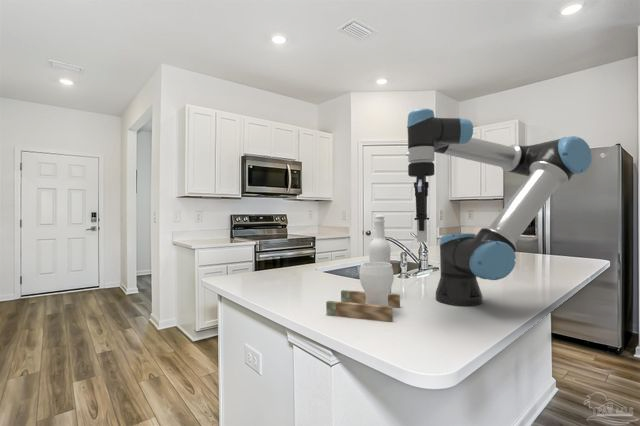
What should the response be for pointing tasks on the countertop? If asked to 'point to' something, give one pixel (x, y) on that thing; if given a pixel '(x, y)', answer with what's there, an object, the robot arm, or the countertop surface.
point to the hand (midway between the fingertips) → (422, 241)
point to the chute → (362, 306)
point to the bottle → (379, 243)
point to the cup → (376, 281)
